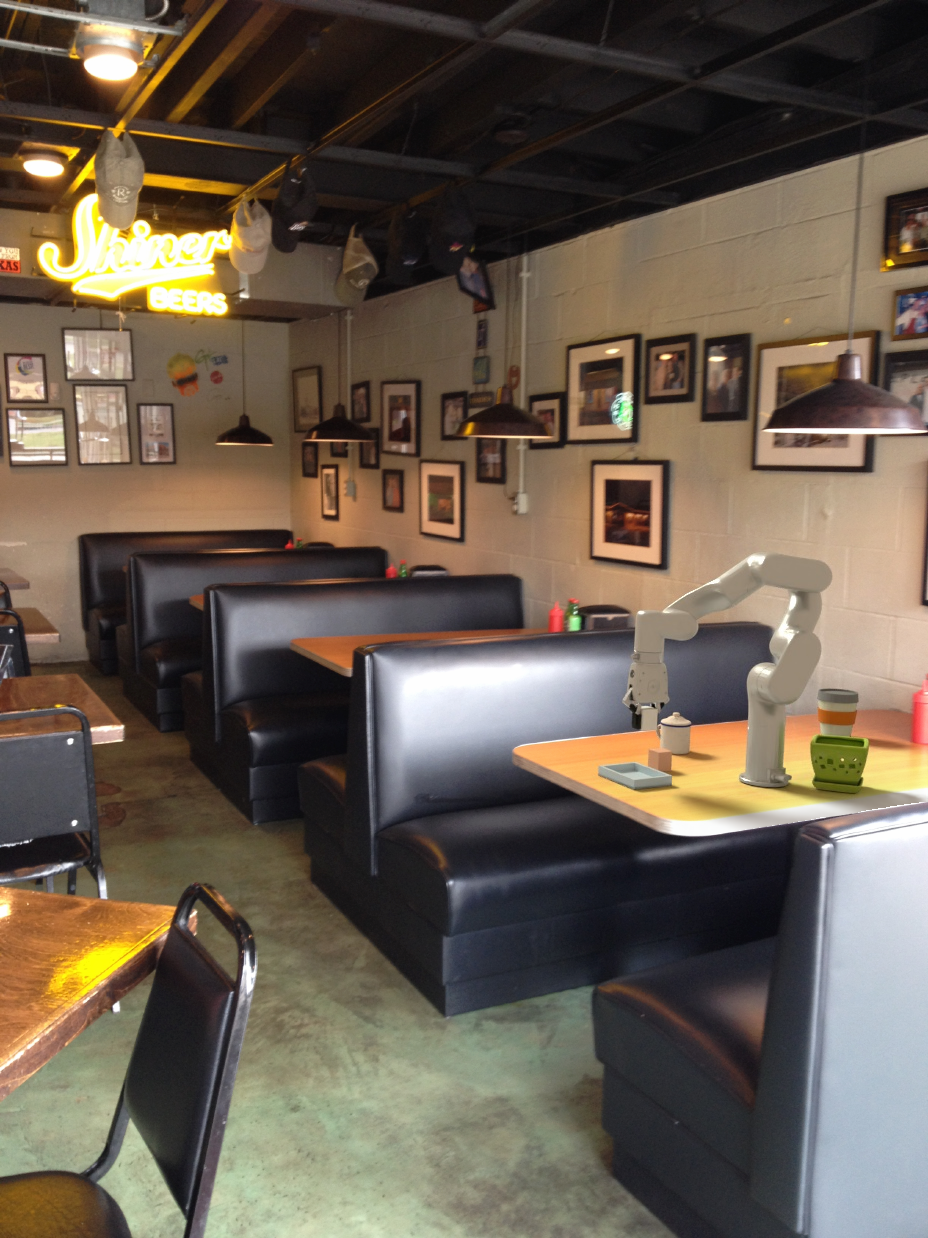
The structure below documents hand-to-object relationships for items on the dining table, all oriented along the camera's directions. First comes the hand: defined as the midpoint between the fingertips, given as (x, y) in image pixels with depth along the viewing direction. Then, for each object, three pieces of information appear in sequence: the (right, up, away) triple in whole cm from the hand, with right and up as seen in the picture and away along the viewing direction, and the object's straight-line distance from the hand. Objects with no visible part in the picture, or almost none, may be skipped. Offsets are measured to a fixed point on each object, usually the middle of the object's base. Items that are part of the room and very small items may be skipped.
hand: (644, 727), depth 263 cm
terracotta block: (+7, -13, +17) cm, 22 cm away
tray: (-2, -14, +4) cm, 15 cm away
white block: (0, 0, 0) cm, 0 cm away
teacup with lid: (+15, -11, +41) cm, 45 cm away
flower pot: (+50, -16, +2) cm, 53 cm away
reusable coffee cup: (+73, -10, +65) cm, 99 cm away
